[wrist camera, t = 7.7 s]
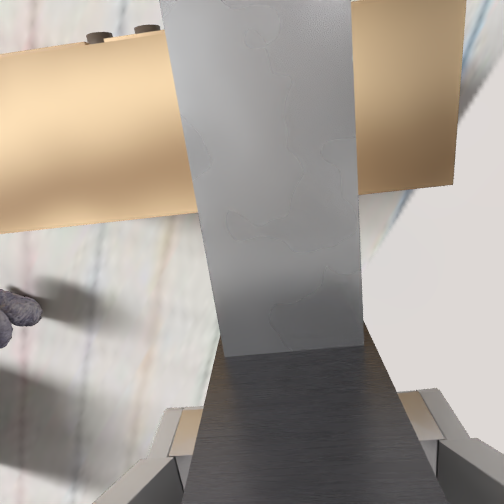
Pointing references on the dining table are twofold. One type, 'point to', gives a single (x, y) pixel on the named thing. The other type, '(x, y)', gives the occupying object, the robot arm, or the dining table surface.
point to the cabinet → (170, 126)
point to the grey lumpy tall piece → (16, 314)
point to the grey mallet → (285, 262)
